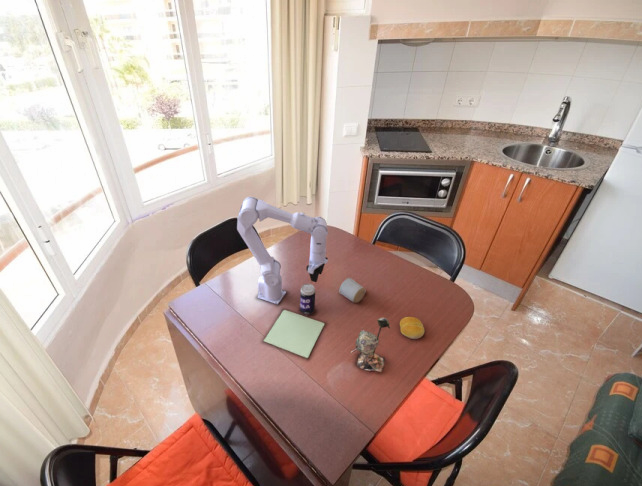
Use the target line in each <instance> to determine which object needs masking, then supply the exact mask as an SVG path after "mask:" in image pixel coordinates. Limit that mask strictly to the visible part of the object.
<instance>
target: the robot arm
mask: <svg viewBox="0 0 642 486" xmlns="http://www.w3.org/2000/svg"><path fill="white" fill-rule="evenodd" d="M268 218H269V219H272V220H276V221H280V222H283V223H287V224H289V225H290V226H291V228H293V229H295V230H298V231H301V232H304V233H307V234H310V235H311V236H310V243H309V244H310V248H309V259H308V264H307V266H306V268H305V270H306V272H307V274H308V275H309V277H310V281H311V282H313V283H317V282H318V279H319V276H320V275H322V273H323V271H324V268H325V265H326V264H328V263H329V258H328V257H326V254H327V237H328V235H329V231H328V230H329V229H328V225H327V224H328V223H327V220H325V218H323V217H322V216H316V217H315V216H314V217H313V216H310V215H307V214H305V212H303V211H301V212H298V211H296V212H294V213H291V212H288V211H287V210H284V209H282V208H279V207H277V206H274V205H272V204H270V203H267V202H266V201H265V200H263V199H261V198H257V197H255V196H248V197H245V198H244V200H243V201H242V204H241V205H240V209H239V212H238V215H237V218H236V219H237V221H236V222H237V223H236V230H237V232H238V234H239V236H240V237H241V238H242V240H243V242H244V243H245V244H246V246H247V248H248V249H249V251H250V252H251V254H252V255H253V257H254V258H255V260H256V262H257V263H258V265H259V267H260V272H261V275H260V277H259V278H258V281H257V293H258V295H257V298H258V299H260V300H263V301H266V302H268V303H271V304H274V305H279V304H280V302H281V301H282V299H283V298H284V296H285V295H286V293H287V292H286V291H285V290H283V282H282V281H283V280H282V279H283V278H282V276H281V267H282V265H281V263H280V262H279V261H278V260H277V259H275V257H274V256H271V254H270V253H269V251H268V249H266V245H264V243H263V242H262V240H261V238H260V236H259V235H258V233H257V231H256V230H255V229H254V227H253V226H254V225H255V224H256V222H258V220H259V222H262V221H264V220H266V219H268Z"/></svg>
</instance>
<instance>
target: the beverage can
mask: <svg viewBox="0 0 642 486" xmlns="http://www.w3.org/2000/svg"><path fill="white" fill-rule="evenodd" d="M315 309H316V288H315V286H314V285H313V284H311V283H305V284H302V285H301V288H300V290H299V311H300V312H301V313H302V314H304V315H307V316H309V315H312V314H313V313H314V312H315V311H316V310H315Z"/></svg>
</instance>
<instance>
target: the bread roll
mask: <svg viewBox="0 0 642 486" xmlns="http://www.w3.org/2000/svg"><path fill="white" fill-rule="evenodd" d="M399 327H400V333H401V334H402V335H403V336H405V337H406V338H409V339H411V340H418V339H421V338H422V337H423V336H424V334H425V327H424V325H423V323H422V321H421V320H420V319H419V318H417V317H413V316H405V317H403V318H401V319H400V321H399Z"/></svg>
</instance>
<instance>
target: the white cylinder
mask: <svg viewBox="0 0 642 486" xmlns="http://www.w3.org/2000/svg"><path fill="white" fill-rule="evenodd" d="M338 289H339V290H338V291H339V294H340V295H342V296H343V297H345V298H346V299H348V300H349V301H351V302H352V303H354V304H356V303H359V302H360V301H362V300H363V298H364V296H365V295H366V291H367V290H366V289H365V287H363V285H361V284H359V283H358V282H356V281H355V280H354V279H353V278H351V277H347V278H346V279H345V280H344V281H342V282H341V285H340V286H339V288H338Z"/></svg>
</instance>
